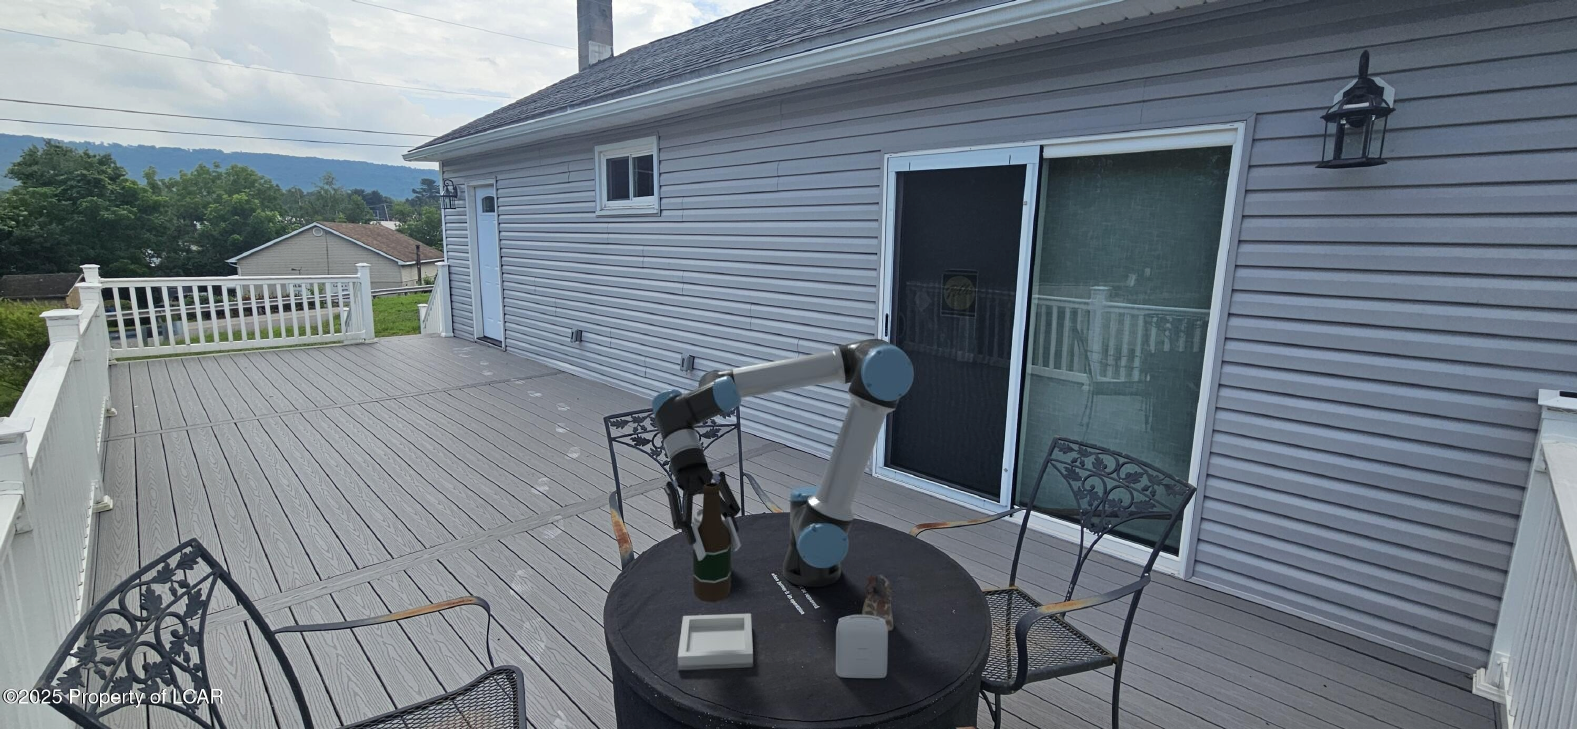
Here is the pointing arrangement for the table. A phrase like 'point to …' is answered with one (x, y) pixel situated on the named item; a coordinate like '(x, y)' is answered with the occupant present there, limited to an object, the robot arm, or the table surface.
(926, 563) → the table surface
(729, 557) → the beer bottle
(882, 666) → the photo printer
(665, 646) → the table surface
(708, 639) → the dock tray
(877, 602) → the figurine
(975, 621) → the table surface
